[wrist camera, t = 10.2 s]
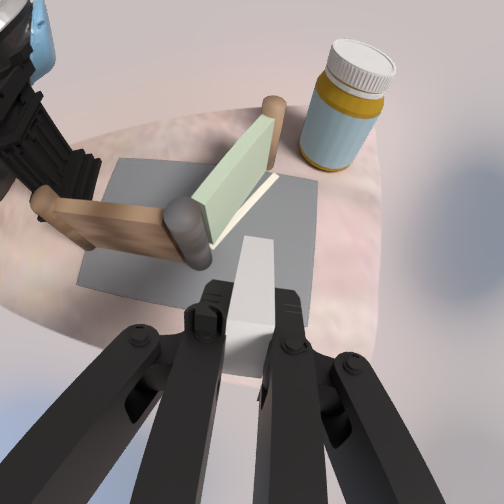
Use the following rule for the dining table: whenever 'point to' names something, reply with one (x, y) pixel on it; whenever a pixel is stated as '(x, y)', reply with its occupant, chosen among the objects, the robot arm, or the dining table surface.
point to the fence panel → (240, 169)
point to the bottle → (345, 104)
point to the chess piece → (39, 138)
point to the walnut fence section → (129, 227)
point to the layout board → (223, 251)
